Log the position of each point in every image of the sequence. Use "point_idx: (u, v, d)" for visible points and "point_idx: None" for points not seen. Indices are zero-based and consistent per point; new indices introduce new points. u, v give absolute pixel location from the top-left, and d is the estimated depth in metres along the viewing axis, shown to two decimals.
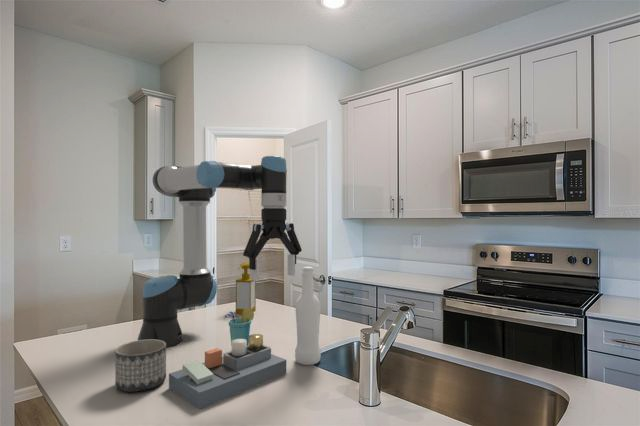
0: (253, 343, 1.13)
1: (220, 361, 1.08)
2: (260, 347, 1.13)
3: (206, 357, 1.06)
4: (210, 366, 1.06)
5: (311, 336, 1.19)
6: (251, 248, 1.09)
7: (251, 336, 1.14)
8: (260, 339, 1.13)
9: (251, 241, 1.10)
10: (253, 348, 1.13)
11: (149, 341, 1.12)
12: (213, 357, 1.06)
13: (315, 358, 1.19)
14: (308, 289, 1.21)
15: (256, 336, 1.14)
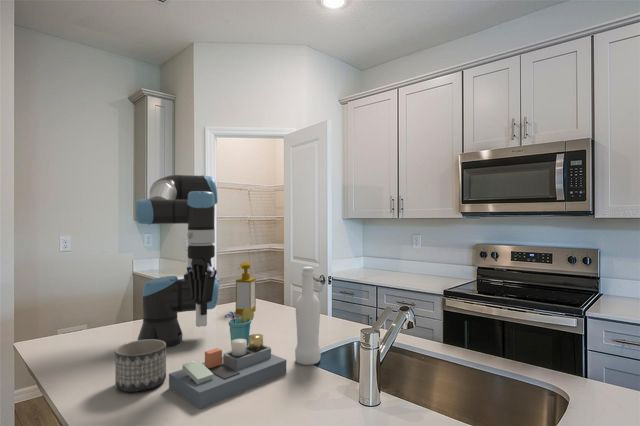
0: (253, 343, 1.13)
1: (220, 361, 1.08)
2: (260, 347, 1.13)
3: (206, 357, 1.06)
4: (210, 366, 1.06)
5: (311, 336, 1.19)
6: (191, 291, 1.13)
7: (251, 336, 1.14)
8: (260, 339, 1.13)
9: None
10: (253, 348, 1.13)
11: (149, 341, 1.12)
12: (213, 357, 1.06)
13: (315, 358, 1.19)
14: (308, 289, 1.21)
15: (256, 336, 1.14)
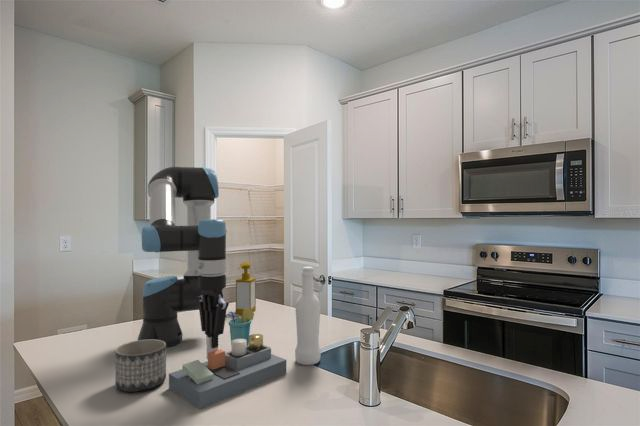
0: (253, 343, 1.13)
1: (223, 362, 1.07)
2: (260, 347, 1.13)
3: (209, 358, 1.05)
4: (213, 368, 1.05)
5: (311, 336, 1.19)
6: (201, 322, 1.09)
7: (251, 336, 1.14)
8: (260, 339, 1.13)
9: None
10: (253, 348, 1.13)
11: (149, 341, 1.12)
12: (216, 358, 1.05)
13: (315, 358, 1.19)
14: (308, 289, 1.21)
15: (256, 336, 1.14)
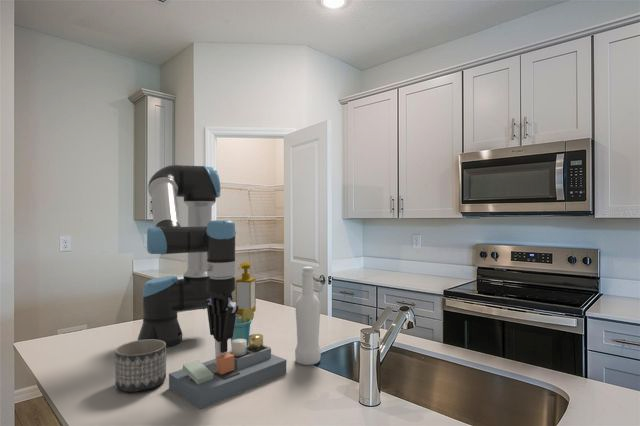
0: (253, 343, 1.13)
1: (232, 367, 1.04)
2: (260, 347, 1.13)
3: (218, 363, 1.02)
4: (222, 372, 1.02)
5: (311, 336, 1.19)
6: (210, 326, 1.07)
7: (251, 336, 1.14)
8: (260, 339, 1.13)
9: None
10: (253, 348, 1.13)
11: (149, 341, 1.12)
12: (225, 362, 1.02)
13: (315, 358, 1.19)
14: (308, 289, 1.21)
15: (256, 336, 1.14)
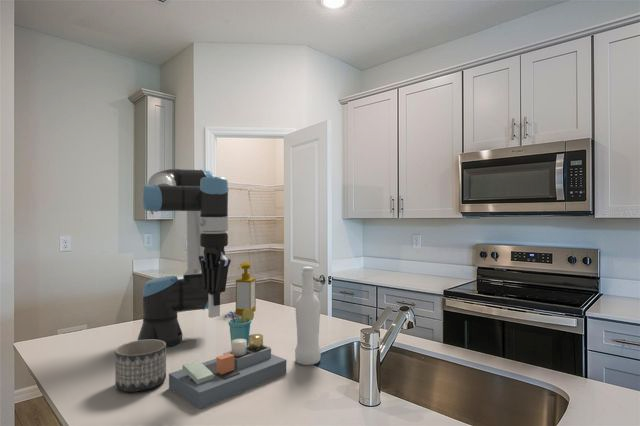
0: (253, 343, 1.13)
1: (232, 367, 1.04)
2: (260, 347, 1.13)
3: (218, 363, 1.02)
4: (222, 372, 1.02)
5: (310, 336, 1.19)
6: (203, 281, 1.09)
7: (251, 336, 1.14)
8: (260, 339, 1.13)
9: None
10: (253, 348, 1.13)
11: (149, 341, 1.12)
12: (225, 362, 1.02)
13: (315, 358, 1.19)
14: (308, 289, 1.21)
15: (256, 336, 1.14)
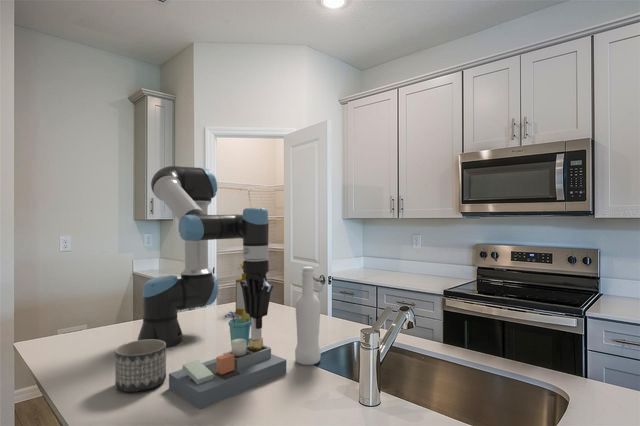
0: (253, 346, 1.13)
1: (232, 367, 1.04)
2: (260, 350, 1.13)
3: (218, 363, 1.02)
4: (222, 372, 1.02)
5: (311, 336, 1.19)
6: (245, 305, 1.16)
7: (251, 339, 1.14)
8: (260, 342, 1.13)
9: None
10: (253, 351, 1.13)
11: (149, 341, 1.12)
12: (225, 362, 1.02)
13: (315, 358, 1.19)
14: (308, 289, 1.21)
15: (256, 340, 1.14)
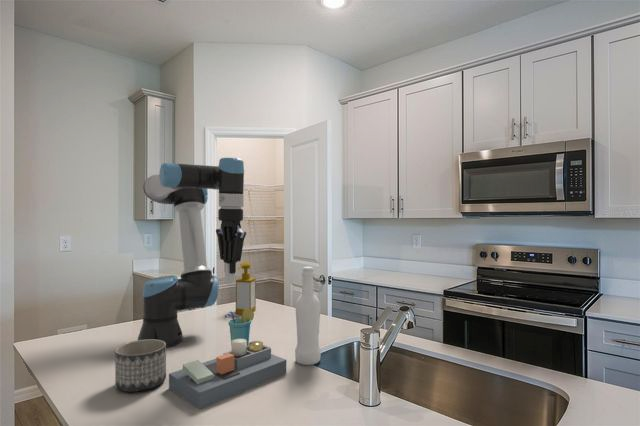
0: (253, 350, 1.13)
1: (232, 367, 1.04)
2: None
3: (218, 363, 1.02)
4: (222, 372, 1.02)
5: (311, 336, 1.19)
6: (220, 251, 1.22)
7: (251, 343, 1.14)
8: (260, 346, 1.13)
9: None
10: None
11: (149, 341, 1.12)
12: (225, 362, 1.02)
13: (315, 358, 1.19)
14: (308, 289, 1.21)
15: (256, 344, 1.14)
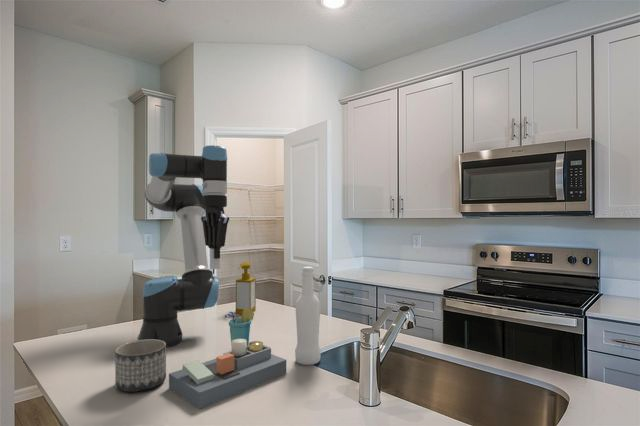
0: (253, 350, 1.13)
1: (232, 367, 1.04)
2: None
3: (218, 363, 1.02)
4: (222, 372, 1.02)
5: (311, 336, 1.19)
6: (205, 238, 1.24)
7: (251, 343, 1.14)
8: (260, 346, 1.13)
9: None
10: None
11: (149, 341, 1.12)
12: (225, 362, 1.02)
13: (315, 358, 1.19)
14: (308, 289, 1.21)
15: (256, 344, 1.14)
